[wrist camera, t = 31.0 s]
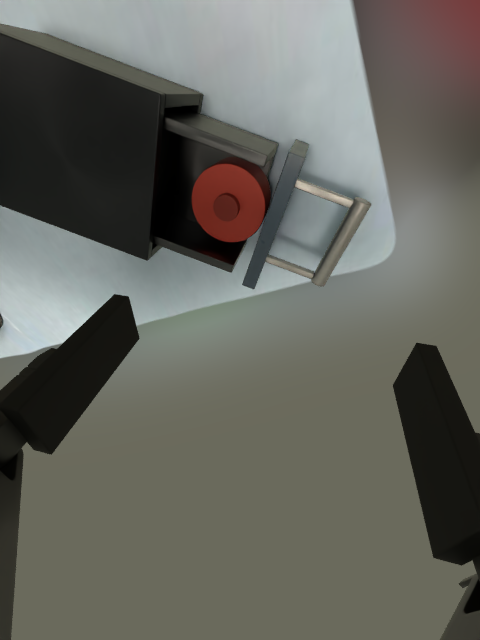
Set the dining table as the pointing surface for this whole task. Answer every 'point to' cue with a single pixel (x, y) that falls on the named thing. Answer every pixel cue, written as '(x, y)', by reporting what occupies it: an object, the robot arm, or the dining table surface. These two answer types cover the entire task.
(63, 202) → the black drawer cabinet
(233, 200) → the lid
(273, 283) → the dining table surface
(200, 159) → the pull-out drawer box
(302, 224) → the dining table surface
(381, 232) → the dining table surface
